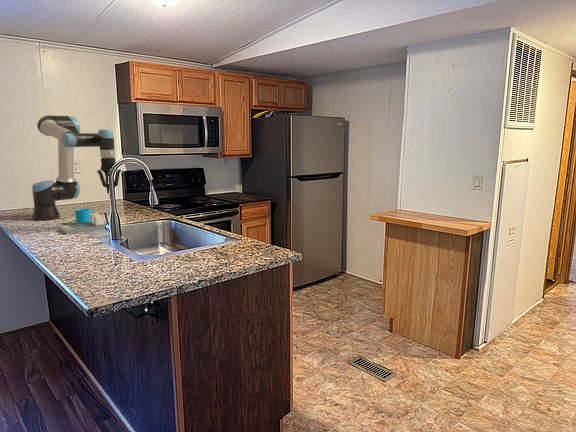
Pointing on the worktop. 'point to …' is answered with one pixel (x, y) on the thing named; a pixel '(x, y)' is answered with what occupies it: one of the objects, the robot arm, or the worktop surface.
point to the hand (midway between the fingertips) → (111, 199)
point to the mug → (83, 215)
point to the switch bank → (80, 228)
